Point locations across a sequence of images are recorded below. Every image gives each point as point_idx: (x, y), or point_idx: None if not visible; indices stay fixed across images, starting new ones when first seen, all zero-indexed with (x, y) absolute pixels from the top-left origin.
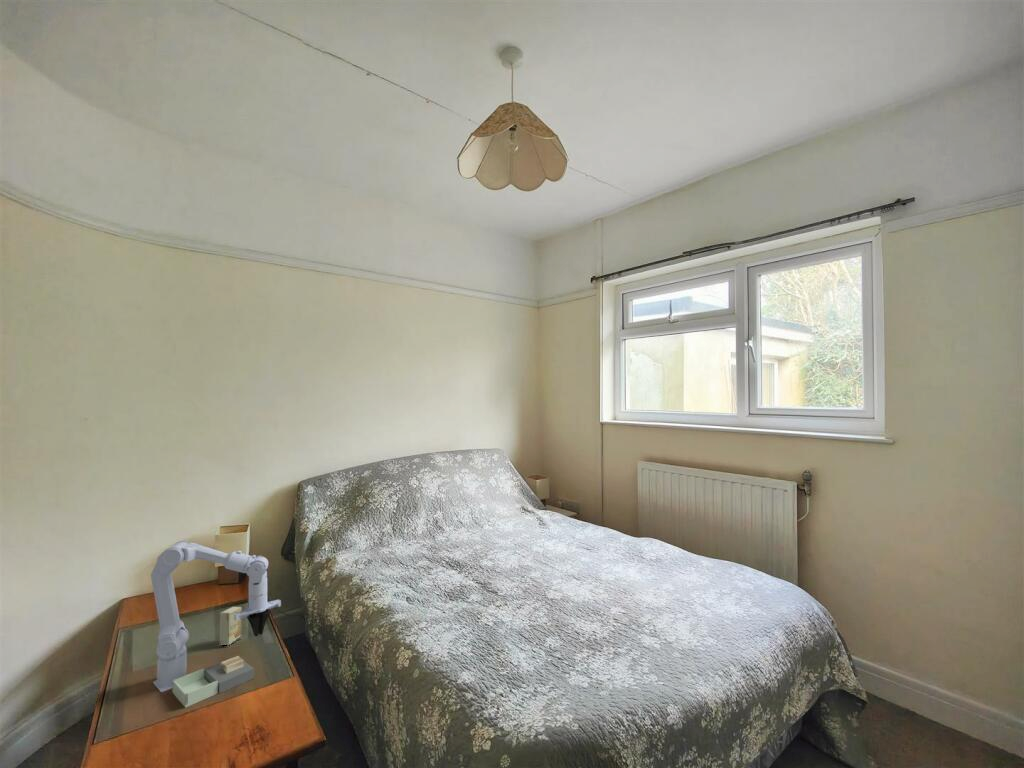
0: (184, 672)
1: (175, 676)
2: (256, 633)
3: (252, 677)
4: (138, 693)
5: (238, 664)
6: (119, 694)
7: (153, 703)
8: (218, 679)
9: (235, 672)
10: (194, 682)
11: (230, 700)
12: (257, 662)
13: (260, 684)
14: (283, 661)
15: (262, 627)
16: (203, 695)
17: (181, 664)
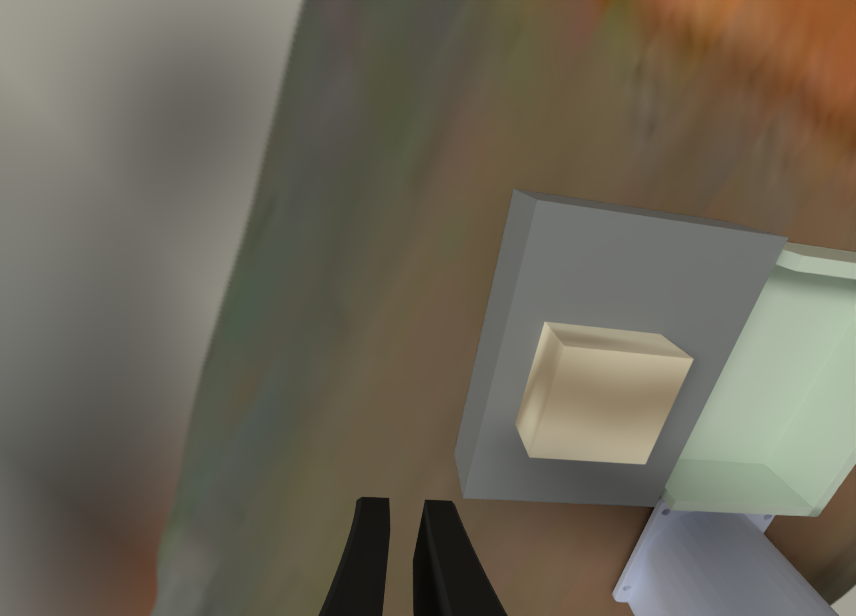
0: (706, 554)
1: (759, 548)
2: (464, 533)
3: (528, 192)
4: None
5: (595, 341)
6: None
7: None
8: (743, 301)
9: (633, 286)
10: (685, 457)
11: (791, 34)
12: (372, 381)
13: (557, 28)
14: (249, 217)
15: (365, 596)
16: (826, 251)
17: (775, 607)
